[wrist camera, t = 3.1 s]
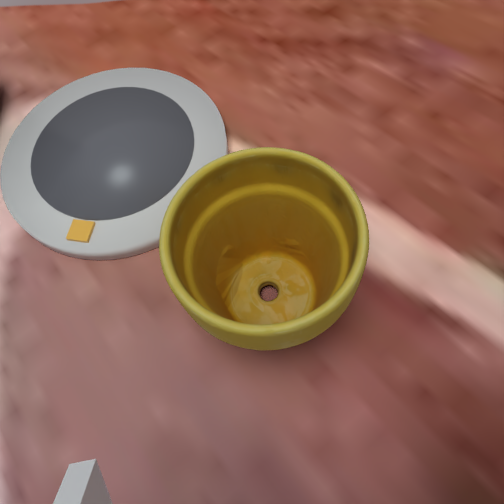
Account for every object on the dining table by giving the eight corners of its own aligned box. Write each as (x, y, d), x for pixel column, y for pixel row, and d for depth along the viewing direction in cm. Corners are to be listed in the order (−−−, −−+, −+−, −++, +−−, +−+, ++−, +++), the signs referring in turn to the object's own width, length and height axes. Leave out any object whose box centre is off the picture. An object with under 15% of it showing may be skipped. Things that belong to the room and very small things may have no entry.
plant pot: (166, 288, 31) (117, 217, 22) (280, 206, 33) (277, 113, 24) (256, 410, 27) (241, 384, 18) (379, 308, 29) (419, 241, 20)
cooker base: (-26, 244, 33) (-42, 233, 32) (57, 74, 41) (48, 58, 39) (201, 275, 31) (197, 264, 29) (245, 88, 38) (244, 71, 37)
